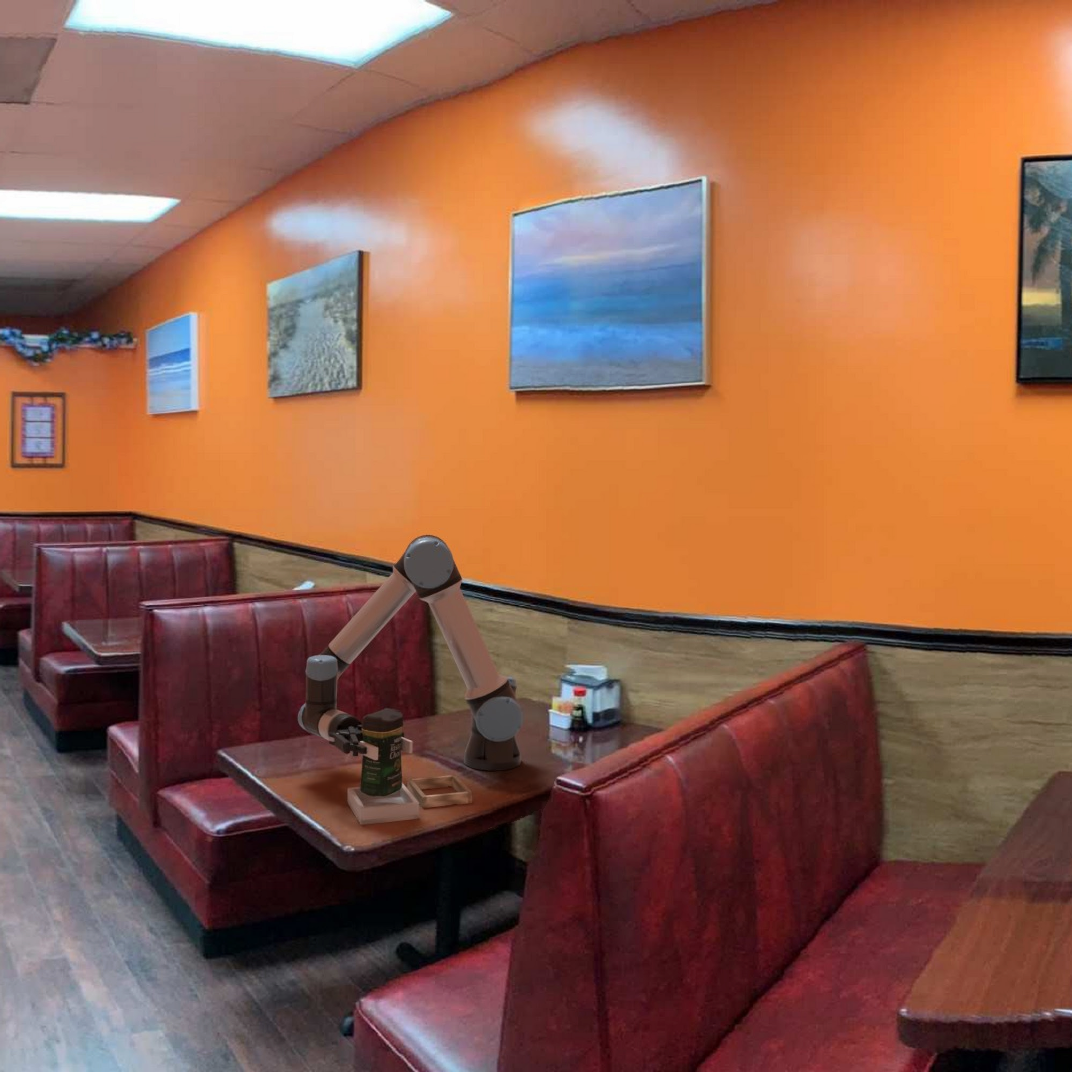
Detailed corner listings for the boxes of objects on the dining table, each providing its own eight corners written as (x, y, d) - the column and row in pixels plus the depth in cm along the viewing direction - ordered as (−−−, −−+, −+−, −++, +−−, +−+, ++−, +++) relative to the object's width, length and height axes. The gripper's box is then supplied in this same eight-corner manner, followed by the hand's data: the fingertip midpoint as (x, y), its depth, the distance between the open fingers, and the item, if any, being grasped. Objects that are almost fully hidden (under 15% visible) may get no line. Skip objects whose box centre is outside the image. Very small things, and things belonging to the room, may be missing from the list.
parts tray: (402, 797, 240) (402, 783, 240) (418, 818, 226) (419, 803, 226) (347, 802, 235) (347, 788, 235) (360, 824, 221) (361, 809, 221)
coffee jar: (384, 800, 224) (385, 717, 223) (354, 794, 228) (355, 713, 226) (408, 788, 233) (409, 708, 231) (379, 782, 236) (380, 704, 235)
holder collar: (454, 784, 250) (454, 774, 250) (472, 802, 237) (472, 792, 237) (407, 789, 246) (407, 779, 246) (422, 808, 233) (422, 797, 233)
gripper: (378, 737, 250) (432, 759, 233) (300, 751, 236) (352, 775, 219) (379, 707, 250) (433, 727, 233) (301, 719, 235) (353, 741, 219)
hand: (394, 750), depth 226 cm, fingers closed on coffee jar, 8 cm apart
